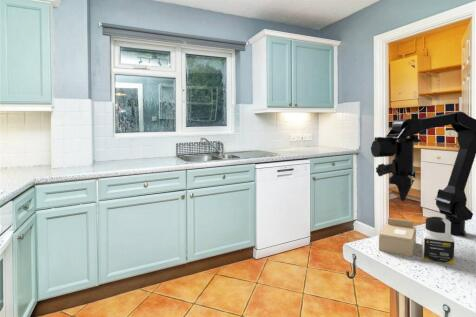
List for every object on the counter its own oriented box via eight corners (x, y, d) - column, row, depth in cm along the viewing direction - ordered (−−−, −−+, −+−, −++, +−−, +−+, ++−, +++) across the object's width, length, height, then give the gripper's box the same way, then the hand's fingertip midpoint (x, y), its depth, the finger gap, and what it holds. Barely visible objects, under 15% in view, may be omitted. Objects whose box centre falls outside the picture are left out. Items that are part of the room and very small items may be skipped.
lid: (386, 224, 101) (386, 217, 101) (415, 229, 97) (415, 221, 96) (379, 236, 92) (379, 227, 92) (411, 241, 87) (411, 232, 87)
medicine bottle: (423, 261, 85) (424, 220, 84) (421, 251, 91) (422, 213, 90) (453, 265, 82) (455, 223, 81) (449, 255, 88) (451, 216, 87)
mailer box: (385, 239, 102) (385, 225, 102) (415, 244, 97) (416, 229, 96) (378, 251, 92) (379, 236, 92) (411, 258, 87) (412, 241, 87)
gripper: (382, 153, 113) (382, 193, 114) (372, 158, 98) (372, 204, 99) (416, 153, 106) (415, 196, 108) (411, 159, 91) (410, 208, 93)
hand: (402, 200), depth 102 cm, fingers closed
